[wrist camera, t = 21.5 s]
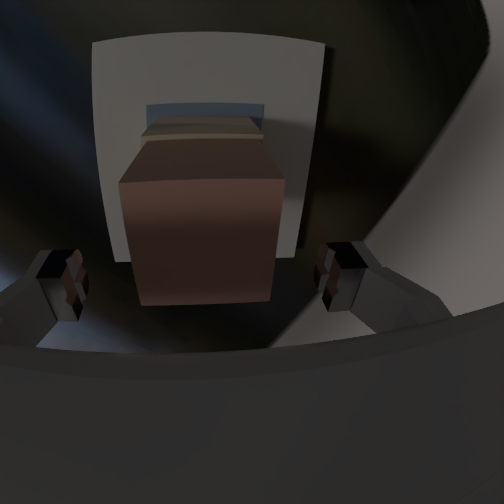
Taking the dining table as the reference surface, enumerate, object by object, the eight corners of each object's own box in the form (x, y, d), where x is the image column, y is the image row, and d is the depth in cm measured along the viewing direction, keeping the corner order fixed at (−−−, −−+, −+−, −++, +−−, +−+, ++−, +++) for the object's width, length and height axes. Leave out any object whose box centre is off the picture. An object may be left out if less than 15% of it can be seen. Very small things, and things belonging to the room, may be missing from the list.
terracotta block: (251, 232, 16) (269, 300, 12) (155, 235, 15) (141, 305, 11) (258, 139, 13) (285, 179, 9) (146, 140, 12) (117, 183, 8)
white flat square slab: (290, 248, 25) (294, 257, 24) (118, 252, 22) (115, 262, 21) (318, 44, 15) (325, 43, 14) (98, 43, 13) (91, 42, 12)
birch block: (243, 197, 20) (254, 237, 16) (160, 198, 19) (150, 240, 15) (248, 116, 17) (263, 134, 13) (157, 117, 16) (140, 135, 12)
